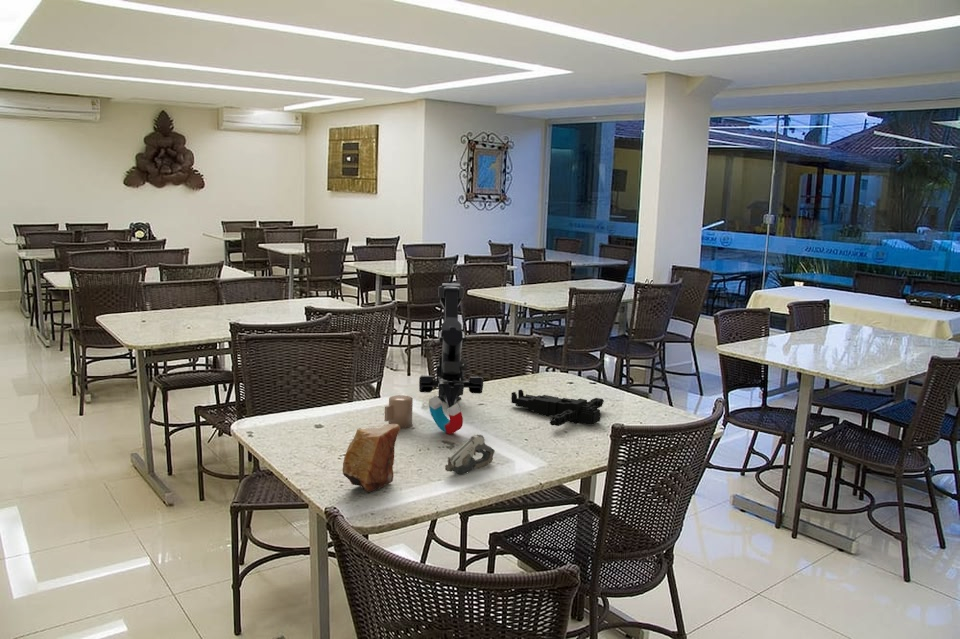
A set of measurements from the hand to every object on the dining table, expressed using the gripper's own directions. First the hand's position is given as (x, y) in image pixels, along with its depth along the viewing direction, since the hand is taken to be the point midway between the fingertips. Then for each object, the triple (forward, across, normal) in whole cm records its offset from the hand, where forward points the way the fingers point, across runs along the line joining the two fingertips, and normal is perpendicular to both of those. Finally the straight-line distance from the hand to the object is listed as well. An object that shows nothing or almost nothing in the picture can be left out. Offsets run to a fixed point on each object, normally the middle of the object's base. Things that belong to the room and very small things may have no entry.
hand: (450, 410), depth 211 cm
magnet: (+4, 0, +5) cm, 7 cm away
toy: (-8, +34, +18) cm, 39 cm away
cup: (+1, -16, +9) cm, 18 cm away
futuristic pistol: (+25, +4, -14) cm, 29 cm away
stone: (+33, -19, -22) cm, 44 cm away
